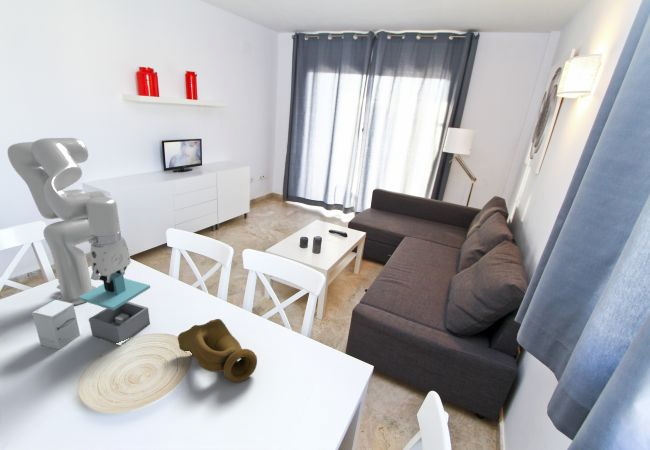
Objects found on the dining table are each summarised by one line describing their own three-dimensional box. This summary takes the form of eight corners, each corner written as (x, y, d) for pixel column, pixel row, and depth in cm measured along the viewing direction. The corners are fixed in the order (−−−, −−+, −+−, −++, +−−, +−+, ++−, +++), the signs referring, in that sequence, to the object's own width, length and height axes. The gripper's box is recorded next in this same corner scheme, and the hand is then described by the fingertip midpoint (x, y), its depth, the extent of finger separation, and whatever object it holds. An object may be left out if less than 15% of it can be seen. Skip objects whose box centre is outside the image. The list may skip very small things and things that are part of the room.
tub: (92, 335, 104) (88, 318, 102) (123, 315, 115) (121, 299, 113) (120, 345, 101) (117, 328, 99) (150, 323, 112) (148, 307, 110)
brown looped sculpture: (237, 312, 111) (264, 341, 94) (228, 347, 112) (254, 381, 95) (183, 312, 100) (203, 345, 83) (174, 351, 100) (192, 391, 83)
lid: (80, 303, 99) (74, 280, 96) (119, 282, 112) (115, 261, 109) (114, 314, 95) (109, 290, 92) (150, 291, 108) (147, 270, 105)
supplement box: (59, 350, 97) (50, 317, 93) (39, 345, 99) (30, 312, 94) (81, 334, 104) (74, 303, 100) (62, 330, 105) (54, 298, 101)
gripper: (90, 249, 87) (100, 304, 94) (138, 230, 102) (144, 279, 109) (70, 244, 89) (81, 298, 96) (120, 226, 104) (127, 274, 111)
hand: (115, 287), depth 102 cm, fingers closed on lid, 3 cm apart
